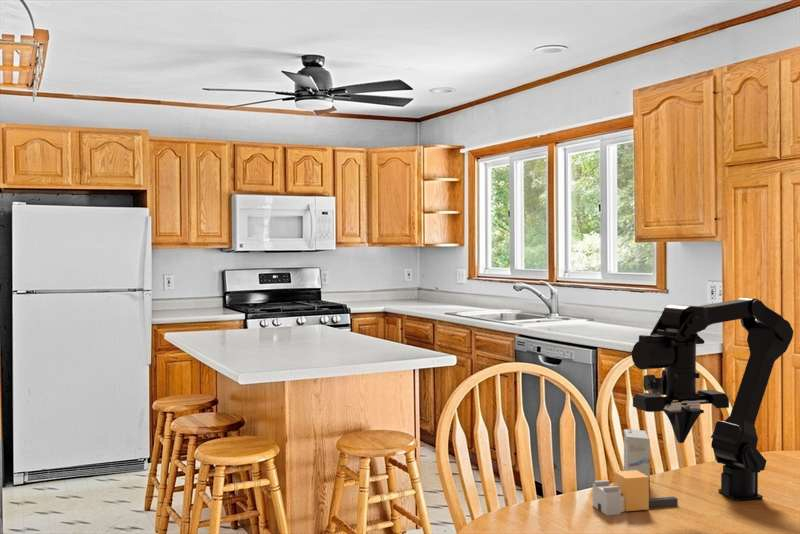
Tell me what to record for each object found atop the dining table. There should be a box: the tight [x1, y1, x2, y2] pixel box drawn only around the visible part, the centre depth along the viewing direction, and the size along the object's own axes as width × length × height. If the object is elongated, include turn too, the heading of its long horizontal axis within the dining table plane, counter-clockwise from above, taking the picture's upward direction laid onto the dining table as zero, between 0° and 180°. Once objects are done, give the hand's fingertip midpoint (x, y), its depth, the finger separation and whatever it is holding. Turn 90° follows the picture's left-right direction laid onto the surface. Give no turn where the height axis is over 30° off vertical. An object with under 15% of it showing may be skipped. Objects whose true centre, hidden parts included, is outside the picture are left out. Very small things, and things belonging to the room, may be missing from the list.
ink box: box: [623, 428, 651, 493], centre depth 170 cm, size 9×5×12 cm, turn 168°
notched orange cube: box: [613, 470, 650, 512], centre depth 156 cm, size 5×5×7 cm
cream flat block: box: [621, 495, 625, 513], centre depth 155 cm, size 1×4×3 cm, turn 12°
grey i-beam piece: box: [592, 479, 622, 517], centre depth 155 cm, size 3×6×5 cm, turn 12°
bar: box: [597, 496, 679, 512], centre depth 156 cm, size 17×1×1 cm, turn 102°
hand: (680, 442), depth 157 cm, fingers closed
